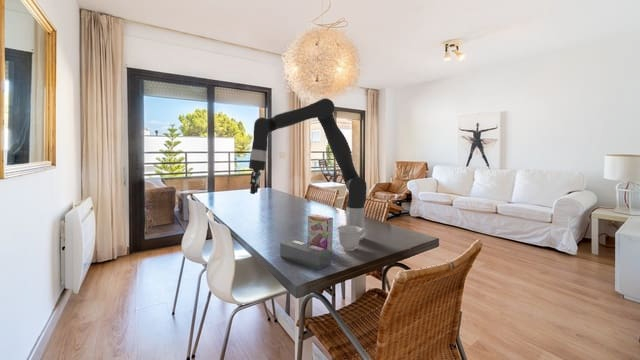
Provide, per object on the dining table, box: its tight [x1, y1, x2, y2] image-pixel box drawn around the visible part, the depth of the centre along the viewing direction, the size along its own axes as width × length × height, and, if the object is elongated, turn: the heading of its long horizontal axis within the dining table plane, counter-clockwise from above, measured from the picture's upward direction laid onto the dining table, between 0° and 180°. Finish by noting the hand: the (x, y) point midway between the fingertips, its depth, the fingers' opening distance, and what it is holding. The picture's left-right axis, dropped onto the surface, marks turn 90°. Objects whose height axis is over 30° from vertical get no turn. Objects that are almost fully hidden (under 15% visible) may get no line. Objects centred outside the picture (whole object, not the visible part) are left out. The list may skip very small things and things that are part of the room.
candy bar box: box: [306, 213, 334, 254], centre depth 129 cm, size 11×5×16 cm, turn 58°
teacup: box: [336, 224, 368, 252], centre depth 133 cm, size 12×15×10 cm
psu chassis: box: [279, 238, 331, 271], centre depth 119 cm, size 7×22×6 cm, turn 52°
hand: (253, 193), depth 135 cm, fingers open, 8 cm apart
